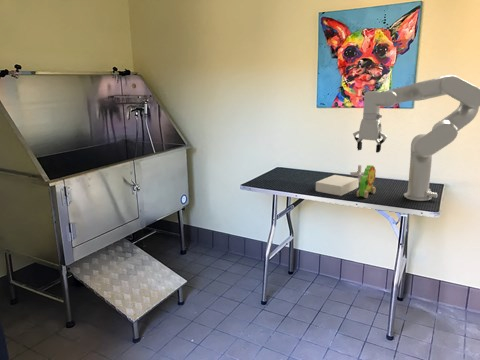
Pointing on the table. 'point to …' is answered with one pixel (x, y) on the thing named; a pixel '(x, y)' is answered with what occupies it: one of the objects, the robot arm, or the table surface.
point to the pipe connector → (358, 173)
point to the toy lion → (367, 182)
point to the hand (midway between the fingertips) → (368, 151)
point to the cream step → (337, 185)
